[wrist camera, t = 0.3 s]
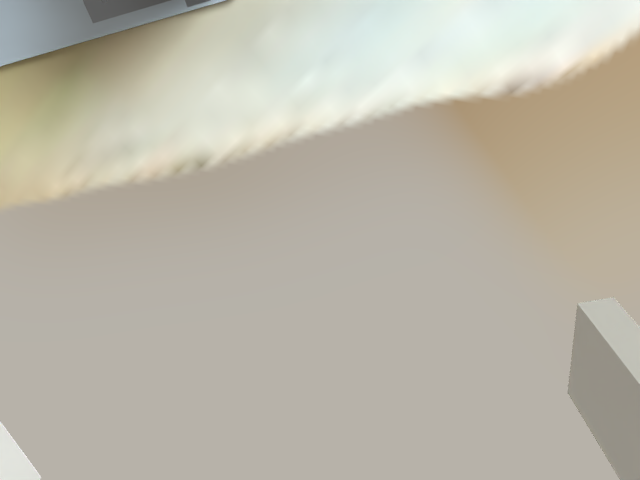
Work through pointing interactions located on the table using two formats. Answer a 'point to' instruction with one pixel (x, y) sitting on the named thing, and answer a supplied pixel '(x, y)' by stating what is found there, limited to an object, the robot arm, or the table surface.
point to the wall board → (67, 24)
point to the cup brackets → (122, 7)
